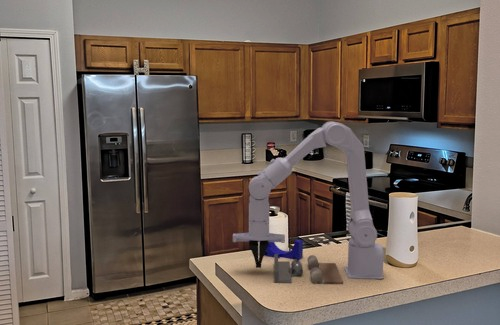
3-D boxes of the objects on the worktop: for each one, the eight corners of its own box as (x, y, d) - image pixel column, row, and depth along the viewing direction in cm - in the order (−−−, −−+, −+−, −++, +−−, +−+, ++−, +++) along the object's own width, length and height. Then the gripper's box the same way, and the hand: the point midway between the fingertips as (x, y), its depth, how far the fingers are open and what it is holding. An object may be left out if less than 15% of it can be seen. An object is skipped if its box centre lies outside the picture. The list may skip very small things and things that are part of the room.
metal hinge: (300, 264, 142) (300, 254, 142) (304, 283, 127) (304, 272, 127) (274, 263, 142) (274, 253, 142) (274, 282, 128) (274, 271, 127)
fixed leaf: (335, 265, 142) (335, 255, 141) (342, 284, 127) (343, 273, 126) (307, 265, 142) (307, 255, 142) (311, 284, 127) (311, 272, 127)
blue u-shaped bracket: (261, 256, 151) (261, 237, 150) (268, 252, 154) (268, 234, 154) (296, 262, 145) (297, 243, 144) (302, 258, 149) (302, 239, 148)
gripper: (284, 216, 137) (283, 262, 139) (234, 215, 138) (234, 261, 139) (285, 222, 130) (284, 270, 132) (232, 221, 131) (232, 269, 132)
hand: (258, 266), depth 135 cm, fingers closed
